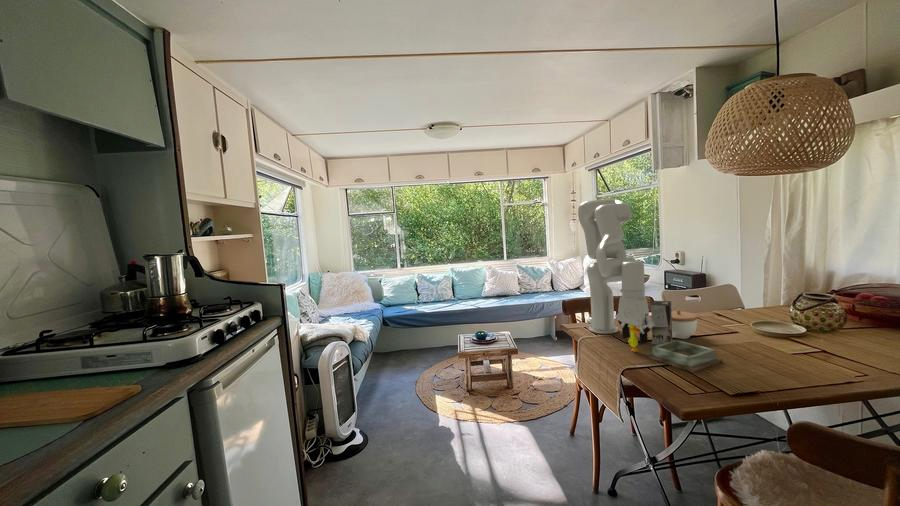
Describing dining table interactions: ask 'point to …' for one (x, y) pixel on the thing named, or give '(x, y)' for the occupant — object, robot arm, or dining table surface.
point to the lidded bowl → (683, 324)
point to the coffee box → (661, 322)
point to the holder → (684, 355)
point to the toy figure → (633, 337)
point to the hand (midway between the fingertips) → (634, 340)
